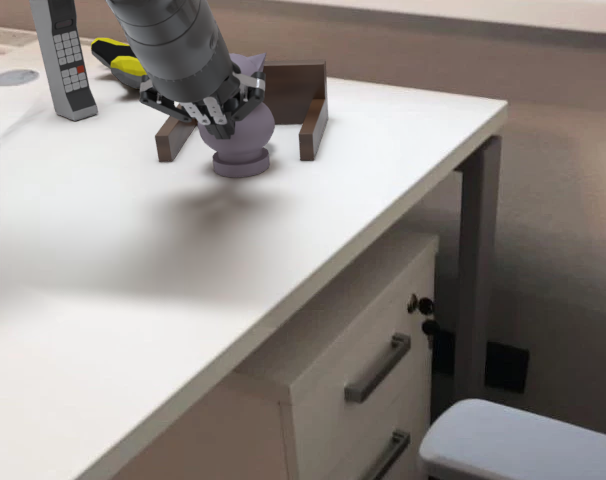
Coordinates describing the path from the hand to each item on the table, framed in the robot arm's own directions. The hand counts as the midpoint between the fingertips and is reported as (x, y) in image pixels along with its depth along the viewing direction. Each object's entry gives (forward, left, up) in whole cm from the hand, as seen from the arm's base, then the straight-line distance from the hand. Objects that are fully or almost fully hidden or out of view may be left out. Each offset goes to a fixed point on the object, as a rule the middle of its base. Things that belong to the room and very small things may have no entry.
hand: (224, 131), depth 93 cm
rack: (-1, +13, -5) cm, 14 cm away
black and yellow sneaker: (-21, +36, -6) cm, 42 cm away
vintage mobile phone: (-26, +23, -6) cm, 35 cm away
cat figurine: (0, +4, -6) cm, 7 cm away
